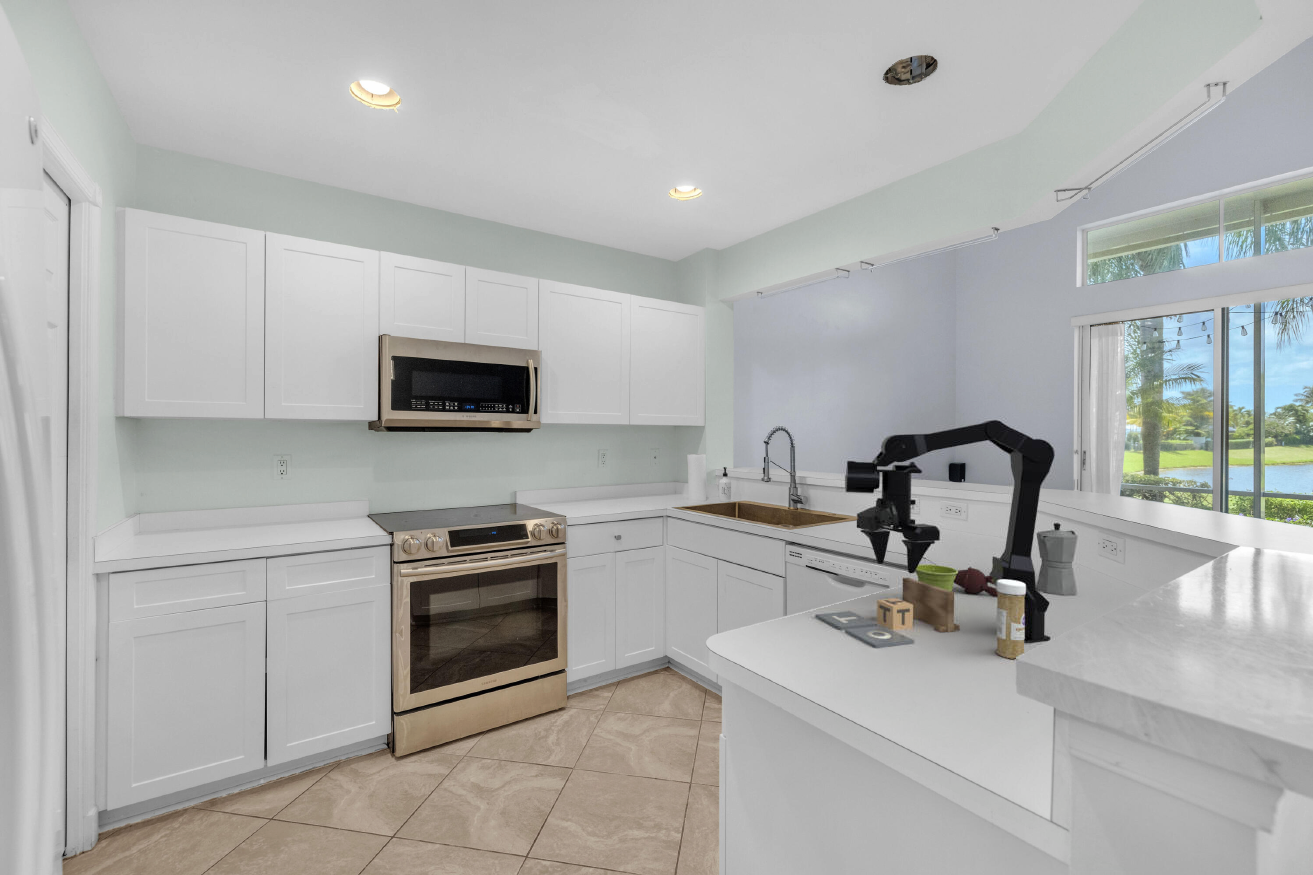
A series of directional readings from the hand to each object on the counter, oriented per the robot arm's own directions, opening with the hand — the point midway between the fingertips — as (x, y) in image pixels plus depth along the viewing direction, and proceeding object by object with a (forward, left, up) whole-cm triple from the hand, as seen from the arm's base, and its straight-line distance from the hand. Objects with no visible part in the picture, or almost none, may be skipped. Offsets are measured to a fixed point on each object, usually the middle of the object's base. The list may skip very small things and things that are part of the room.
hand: (895, 568), depth 122 cm
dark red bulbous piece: (+17, -38, -12) cm, 44 cm away
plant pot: (+10, -21, -12) cm, 26 cm away
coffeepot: (+12, -64, -12) cm, 66 cm away
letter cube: (0, 0, -12) cm, 12 cm away
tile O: (-6, +8, -12) cm, 16 cm away
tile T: (+5, +8, -12) cm, 16 cm away
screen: (0, -9, -12) cm, 15 cm away
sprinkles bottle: (-20, -9, -12) cm, 25 cm away
